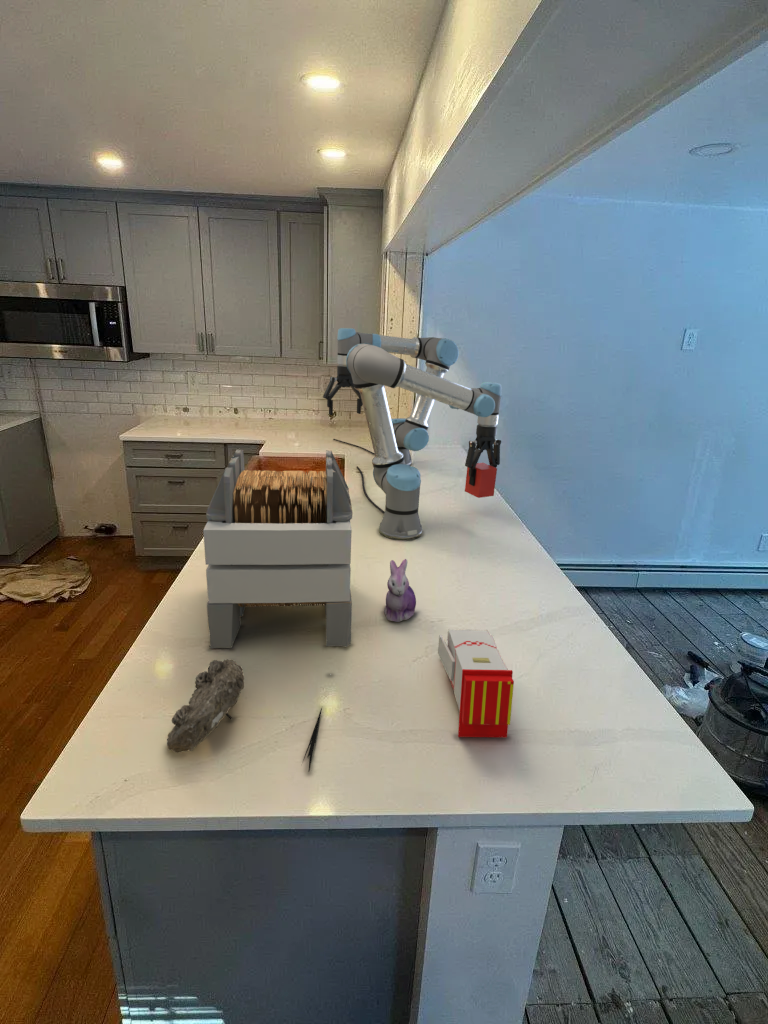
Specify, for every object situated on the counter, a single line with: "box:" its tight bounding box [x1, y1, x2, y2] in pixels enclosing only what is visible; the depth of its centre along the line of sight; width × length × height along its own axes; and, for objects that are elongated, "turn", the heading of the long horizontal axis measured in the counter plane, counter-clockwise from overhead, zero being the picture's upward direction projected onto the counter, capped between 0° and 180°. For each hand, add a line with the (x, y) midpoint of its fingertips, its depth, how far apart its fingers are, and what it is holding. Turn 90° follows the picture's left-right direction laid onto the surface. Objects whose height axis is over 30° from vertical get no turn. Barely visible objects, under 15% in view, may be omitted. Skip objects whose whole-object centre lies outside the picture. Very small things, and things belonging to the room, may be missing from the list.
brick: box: [464, 462, 498, 499], centre depth 218 cm, size 9×7×11 cm
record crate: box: [202, 448, 353, 650], centre depth 139 cm, size 34×33×41 cm
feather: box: [301, 673, 332, 771], centre depth 108 cm, size 2×28×2 cm
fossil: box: [166, 658, 245, 754], centre depth 106 cm, size 22×10×15 cm
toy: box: [437, 628, 515, 738], centre depth 117 cm, size 12×13×30 cm
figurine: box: [384, 558, 417, 623], centre depth 145 cm, size 9×10×15 cm
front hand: (480, 483), depth 219 cm, fingers closed on brick, 7 cm apart
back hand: (344, 414), depth 254 cm, fingers open, 13 cm apart
